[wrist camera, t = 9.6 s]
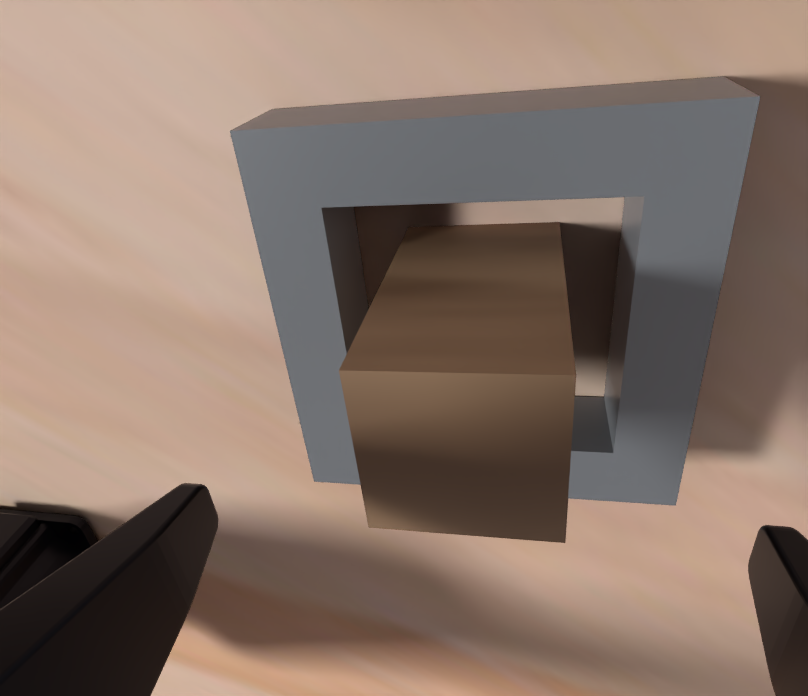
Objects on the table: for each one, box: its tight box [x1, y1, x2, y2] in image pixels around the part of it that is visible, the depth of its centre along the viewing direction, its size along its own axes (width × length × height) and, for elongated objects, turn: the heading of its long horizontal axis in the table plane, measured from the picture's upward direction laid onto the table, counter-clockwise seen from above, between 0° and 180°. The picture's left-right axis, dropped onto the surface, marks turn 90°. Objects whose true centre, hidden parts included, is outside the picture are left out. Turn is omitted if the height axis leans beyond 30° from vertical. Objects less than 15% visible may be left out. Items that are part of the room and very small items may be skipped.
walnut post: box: [339, 222, 576, 543], centre depth 14 cm, size 4×4×7 cm
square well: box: [230, 76, 760, 505], centre depth 16 cm, size 11×11×2 cm
